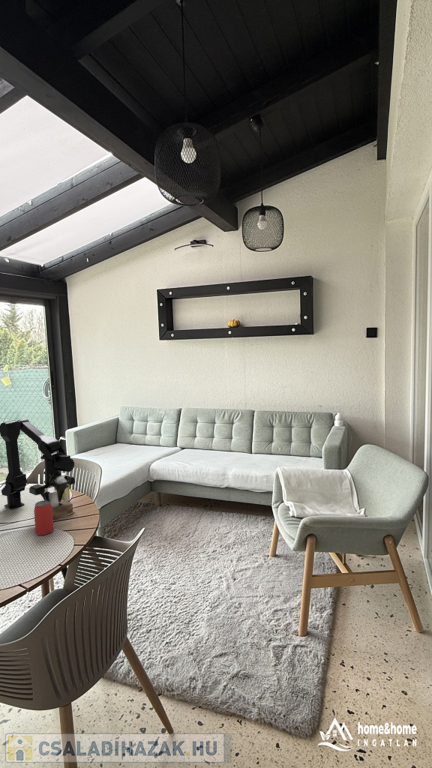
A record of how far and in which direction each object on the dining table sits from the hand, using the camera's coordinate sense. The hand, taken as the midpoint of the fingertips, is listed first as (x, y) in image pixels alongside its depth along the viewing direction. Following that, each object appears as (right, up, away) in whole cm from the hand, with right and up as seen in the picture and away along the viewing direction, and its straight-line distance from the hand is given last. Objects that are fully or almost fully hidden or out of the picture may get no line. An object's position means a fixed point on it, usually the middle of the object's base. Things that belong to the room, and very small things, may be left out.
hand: (54, 503), depth 181 cm
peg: (0, -4, 0) cm, 4 cm away
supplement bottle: (-2, -3, +16) cm, 16 cm away
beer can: (+3, -7, -17) cm, 18 cm away
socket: (0, -5, 0) cm, 5 cm away
